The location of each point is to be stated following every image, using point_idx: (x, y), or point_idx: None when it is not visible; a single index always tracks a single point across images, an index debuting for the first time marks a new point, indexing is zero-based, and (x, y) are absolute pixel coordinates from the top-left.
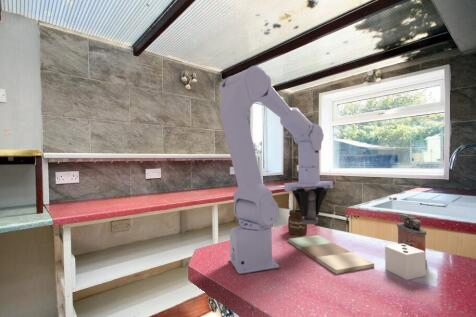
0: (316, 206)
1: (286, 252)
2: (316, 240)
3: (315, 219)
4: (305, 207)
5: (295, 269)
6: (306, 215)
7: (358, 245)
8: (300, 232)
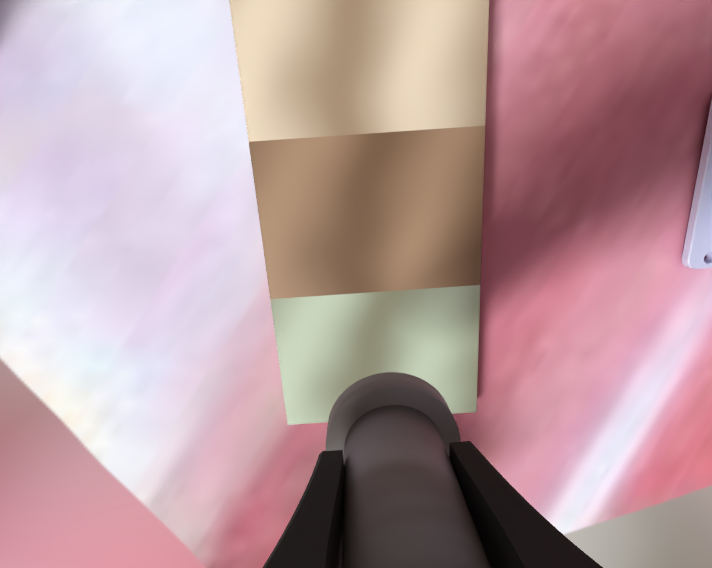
0: (335, 532)
1: (559, 272)
2: (341, 353)
3: (364, 410)
4: (512, 502)
5: (641, 56)
6: (456, 444)
7: (131, 262)
8: None
